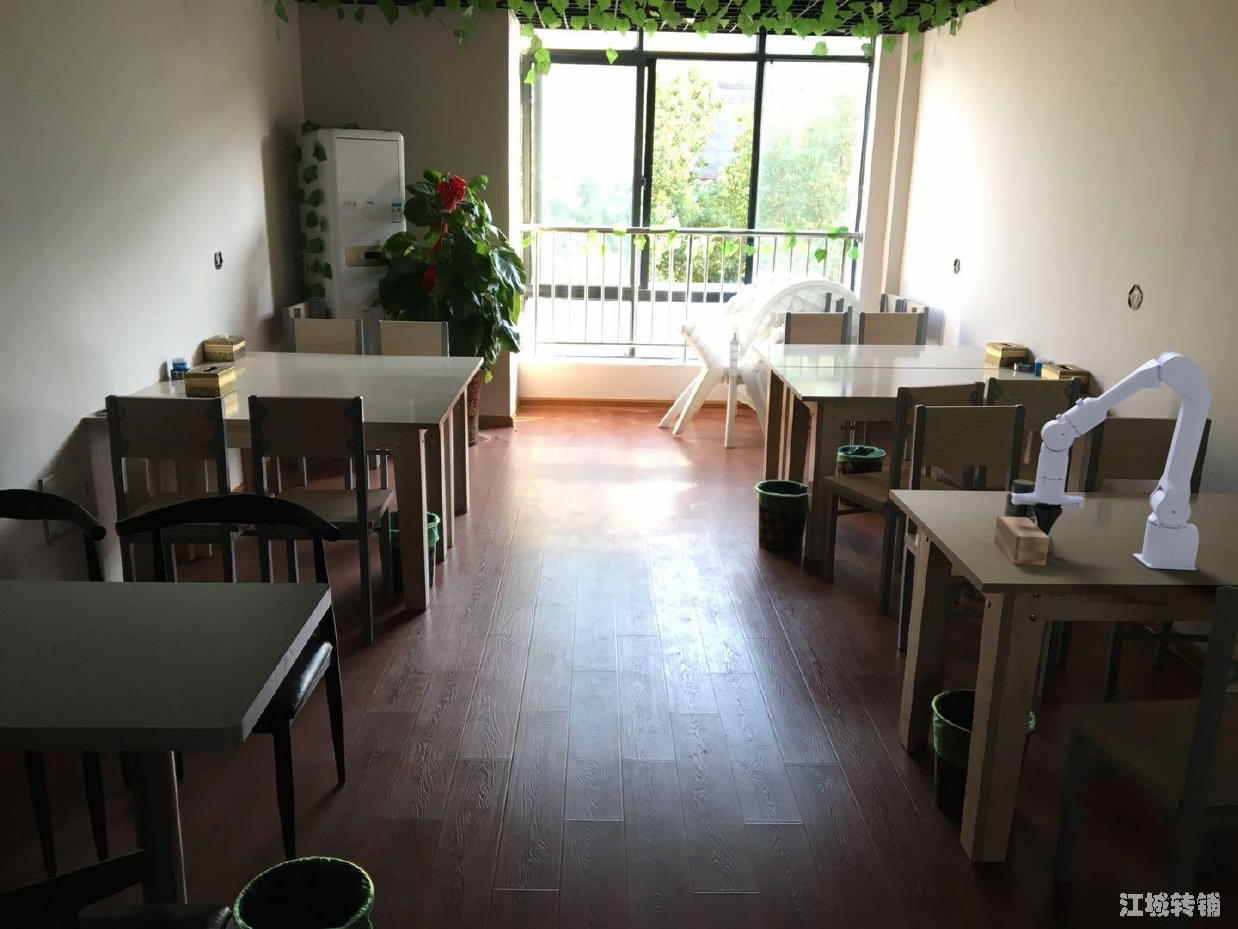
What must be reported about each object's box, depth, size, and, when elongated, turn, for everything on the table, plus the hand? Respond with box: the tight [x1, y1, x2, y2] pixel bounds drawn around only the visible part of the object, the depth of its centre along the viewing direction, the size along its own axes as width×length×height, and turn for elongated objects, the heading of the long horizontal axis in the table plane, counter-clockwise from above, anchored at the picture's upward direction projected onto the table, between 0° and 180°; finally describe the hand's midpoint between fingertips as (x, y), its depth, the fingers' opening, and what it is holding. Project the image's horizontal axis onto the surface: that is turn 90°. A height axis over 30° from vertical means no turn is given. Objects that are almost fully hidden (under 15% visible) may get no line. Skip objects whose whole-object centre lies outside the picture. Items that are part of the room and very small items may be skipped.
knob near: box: [1047, 535, 1054, 559], centre depth 206 cm, size 7×5×5 cm
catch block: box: [993, 515, 1049, 566], centre depth 210 cm, size 6×14×6 cm, turn 175°
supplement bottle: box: [1003, 479, 1037, 525], centre depth 224 cm, size 7×7×12 cm
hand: (1042, 537), depth 214 cm, fingers closed
